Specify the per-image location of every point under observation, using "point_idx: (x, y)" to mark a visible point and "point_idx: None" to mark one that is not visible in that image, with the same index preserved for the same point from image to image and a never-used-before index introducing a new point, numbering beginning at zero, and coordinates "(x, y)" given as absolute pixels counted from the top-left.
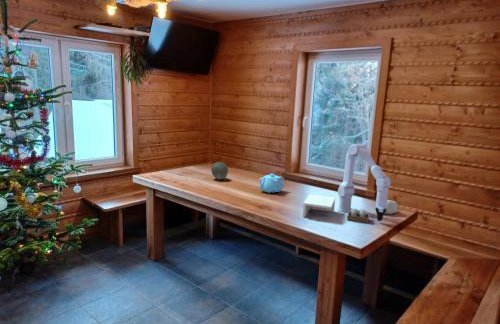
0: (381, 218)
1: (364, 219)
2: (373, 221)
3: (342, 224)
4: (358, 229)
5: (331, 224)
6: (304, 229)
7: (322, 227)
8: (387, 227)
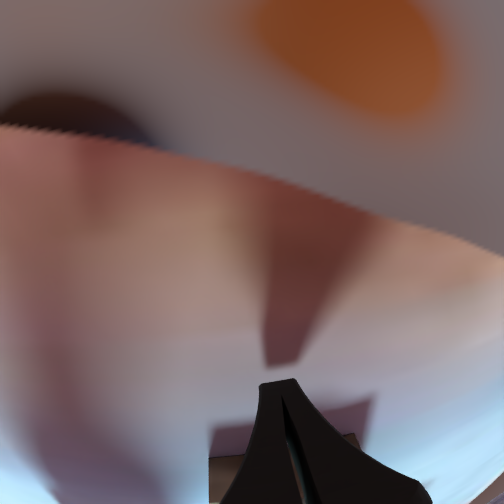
0: (311, 409)
1: None
2: (252, 424)
3: None
4: (487, 415)
5: None
6: (481, 492)
7: (464, 489)
8: (407, 258)
